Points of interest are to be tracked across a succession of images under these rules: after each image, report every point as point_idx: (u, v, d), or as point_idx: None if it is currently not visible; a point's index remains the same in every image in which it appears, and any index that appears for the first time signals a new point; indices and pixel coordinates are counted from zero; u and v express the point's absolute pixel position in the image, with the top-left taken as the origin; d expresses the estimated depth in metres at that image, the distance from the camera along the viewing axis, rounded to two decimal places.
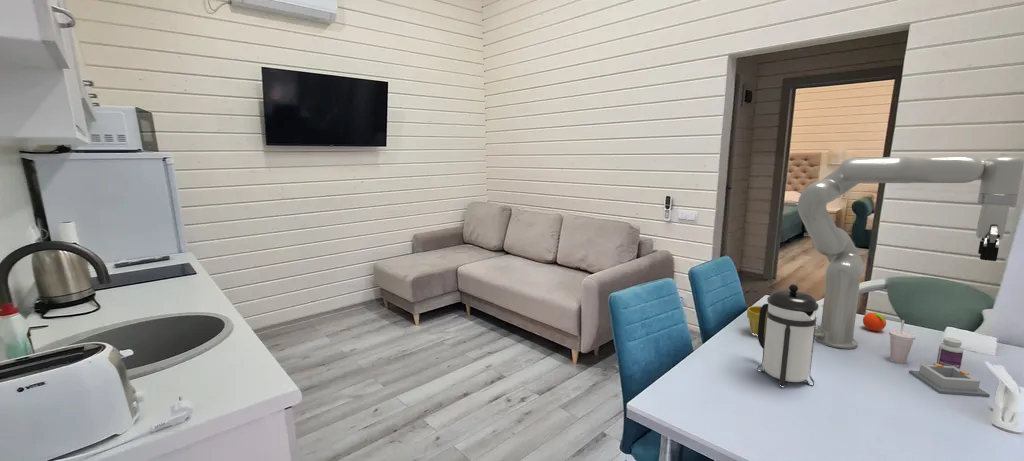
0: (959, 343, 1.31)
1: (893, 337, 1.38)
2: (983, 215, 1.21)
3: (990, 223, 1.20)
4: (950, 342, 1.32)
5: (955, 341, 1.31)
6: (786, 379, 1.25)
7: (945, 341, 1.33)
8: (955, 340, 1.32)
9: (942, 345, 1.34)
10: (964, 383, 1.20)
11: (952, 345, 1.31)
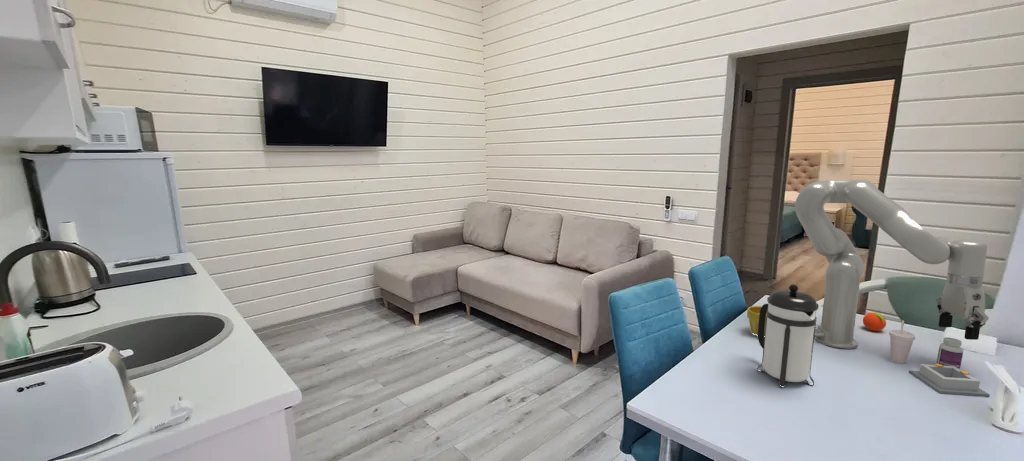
0: (959, 343, 1.31)
1: (893, 337, 1.38)
2: None
3: None
4: (950, 342, 1.32)
5: (955, 341, 1.31)
6: (786, 379, 1.25)
7: (945, 341, 1.33)
8: (955, 340, 1.32)
9: (942, 345, 1.34)
10: (964, 383, 1.20)
11: (952, 345, 1.31)
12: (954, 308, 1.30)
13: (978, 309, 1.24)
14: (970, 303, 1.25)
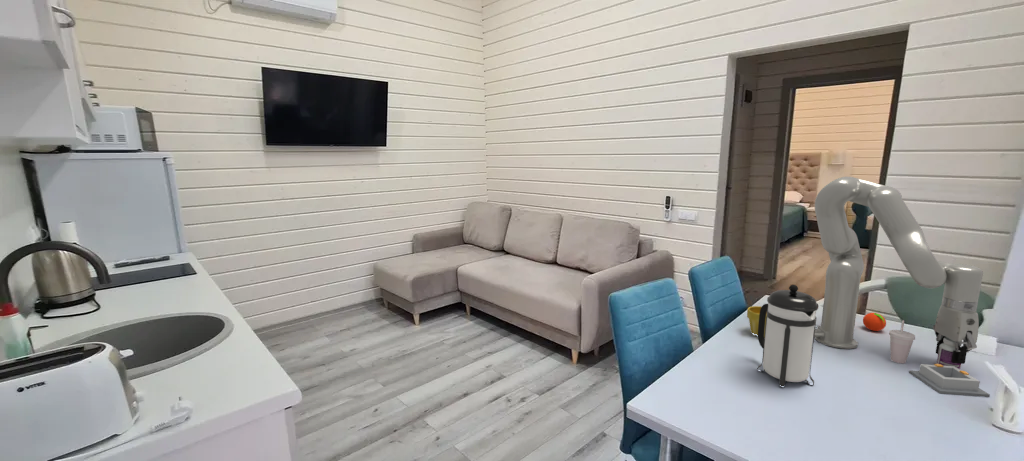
0: None
1: (893, 337, 1.38)
2: None
3: None
4: (950, 342, 1.32)
5: None
6: (786, 379, 1.25)
7: (945, 341, 1.33)
8: None
9: (942, 345, 1.34)
10: (964, 383, 1.20)
11: (952, 345, 1.31)
12: (948, 331, 1.32)
13: (970, 336, 1.27)
14: (964, 328, 1.27)
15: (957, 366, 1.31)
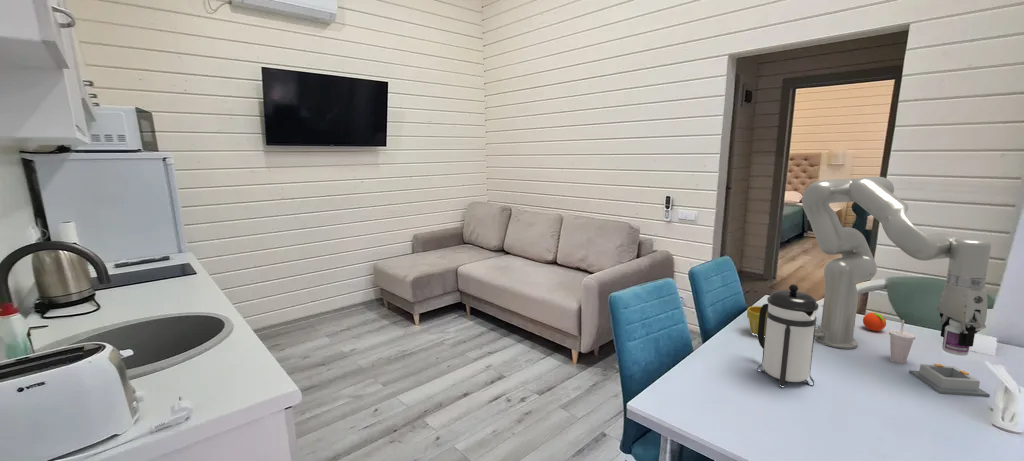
0: (967, 324, 1.19)
1: (893, 337, 1.38)
2: None
3: None
4: (957, 323, 1.20)
5: None
6: (786, 379, 1.25)
7: (951, 322, 1.22)
8: None
9: (948, 327, 1.22)
10: (964, 383, 1.20)
11: (959, 326, 1.20)
12: (953, 311, 1.20)
13: (978, 315, 1.15)
14: (971, 306, 1.16)
15: (965, 349, 1.20)
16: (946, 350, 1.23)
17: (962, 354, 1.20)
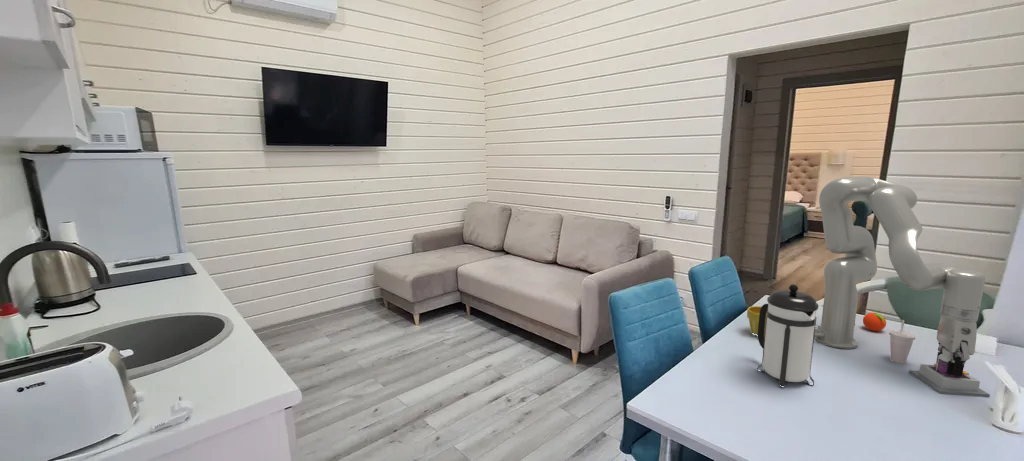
0: (958, 354, 1.21)
1: (893, 337, 1.38)
2: None
3: None
4: (947, 352, 1.23)
5: None
6: (786, 379, 1.25)
7: (943, 351, 1.24)
8: None
9: (940, 355, 1.25)
10: (964, 383, 1.20)
11: (949, 355, 1.22)
12: (944, 340, 1.23)
13: (964, 346, 1.18)
14: (958, 337, 1.19)
15: None
16: None
17: None
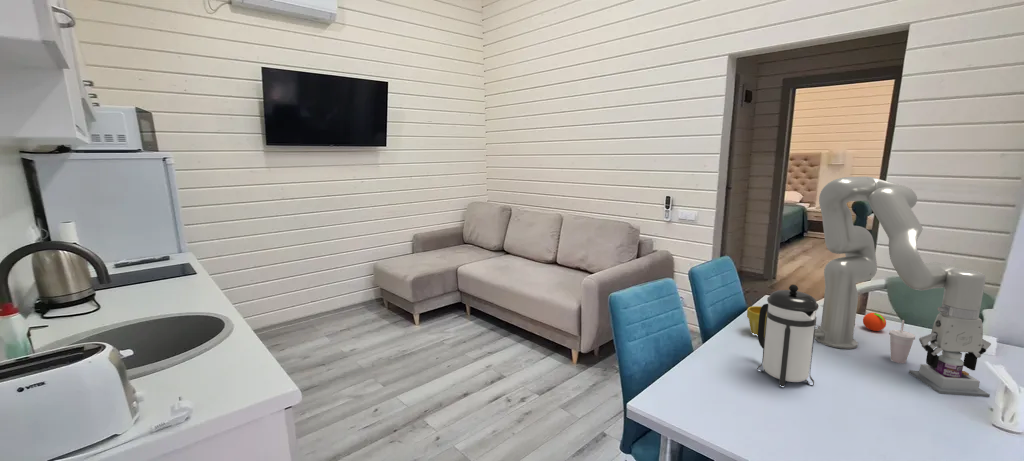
0: (945, 352, 1.23)
1: (893, 337, 1.38)
2: (982, 329, 1.19)
3: None
4: (942, 350, 1.25)
5: None
6: (786, 379, 1.25)
7: None
8: (951, 351, 1.23)
9: None
10: (964, 383, 1.20)
11: (942, 353, 1.25)
12: None
13: (932, 334, 1.23)
14: (933, 328, 1.24)
15: None
16: None
17: None
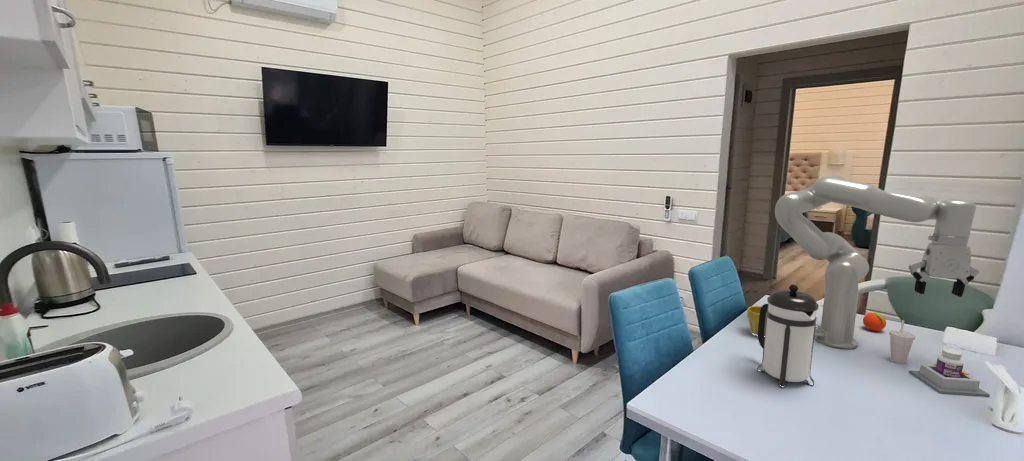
0: (945, 352, 1.23)
1: (893, 337, 1.38)
2: (970, 256, 1.25)
3: None
4: (942, 350, 1.25)
5: (947, 350, 1.24)
6: (786, 379, 1.25)
7: None
8: (951, 351, 1.23)
9: None
10: (964, 383, 1.20)
11: (942, 353, 1.25)
12: None
13: (921, 262, 1.30)
14: (923, 257, 1.31)
15: None
16: None
17: None
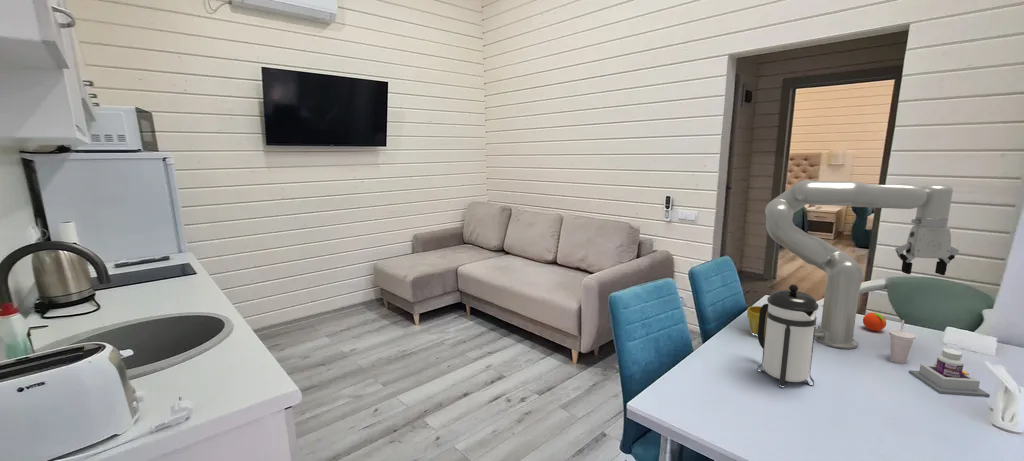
0: (946, 352, 1.23)
1: (893, 337, 1.38)
2: (950, 237, 1.34)
3: None
4: (942, 350, 1.25)
5: (947, 351, 1.24)
6: (786, 379, 1.25)
7: None
8: (951, 351, 1.23)
9: None
10: (964, 383, 1.20)
11: (942, 353, 1.25)
12: None
13: (906, 244, 1.39)
14: (908, 239, 1.40)
15: None
16: None
17: None
